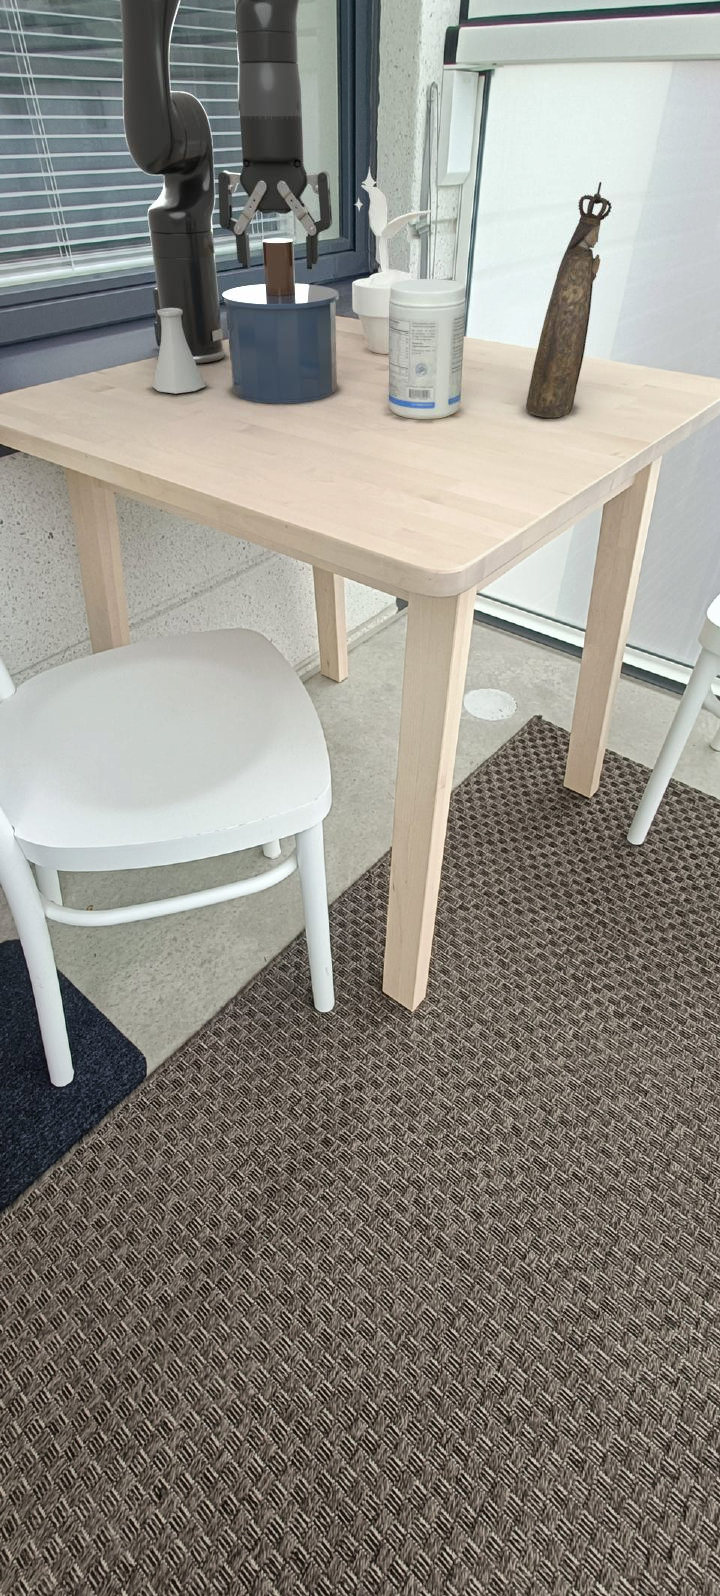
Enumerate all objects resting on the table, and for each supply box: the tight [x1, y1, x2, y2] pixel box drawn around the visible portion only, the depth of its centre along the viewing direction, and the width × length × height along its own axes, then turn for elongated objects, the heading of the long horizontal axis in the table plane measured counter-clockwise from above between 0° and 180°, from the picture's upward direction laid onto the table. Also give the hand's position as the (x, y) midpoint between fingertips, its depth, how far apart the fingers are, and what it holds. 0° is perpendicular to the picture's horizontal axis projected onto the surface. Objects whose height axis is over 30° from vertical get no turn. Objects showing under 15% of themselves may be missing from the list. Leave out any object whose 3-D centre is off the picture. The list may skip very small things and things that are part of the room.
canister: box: [225, 301, 338, 405], centre depth 121 cm, size 15×15×12 cm
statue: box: [525, 181, 612, 419], centre depth 109 cm, size 9×8×25 cm
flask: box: [151, 308, 207, 394], centre depth 122 cm, size 7×7×10 cm
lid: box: [221, 238, 340, 309], centre depth 116 cm, size 16×16×7 cm
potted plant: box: [351, 166, 432, 355], centre depth 136 cm, size 13×12×25 cm
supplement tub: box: [388, 278, 467, 420], centre depth 112 cm, size 10×10×15 cm
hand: (278, 268), depth 115 cm, fingers open, 8 cm apart
